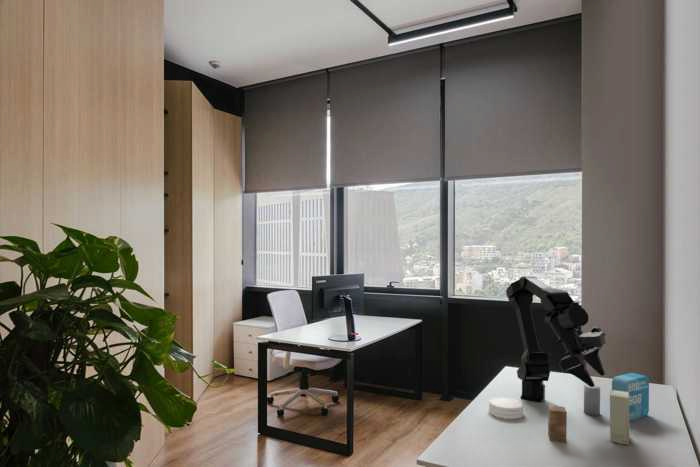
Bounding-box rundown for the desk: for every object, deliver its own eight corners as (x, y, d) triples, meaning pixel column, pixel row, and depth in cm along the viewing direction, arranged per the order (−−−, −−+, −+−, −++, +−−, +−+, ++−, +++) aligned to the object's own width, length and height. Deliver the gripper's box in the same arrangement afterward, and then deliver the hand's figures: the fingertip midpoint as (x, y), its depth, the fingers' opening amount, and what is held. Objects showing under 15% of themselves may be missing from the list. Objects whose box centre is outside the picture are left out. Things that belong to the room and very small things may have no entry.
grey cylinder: (583, 413, 142) (583, 387, 142) (584, 409, 146) (584, 383, 146) (599, 417, 140) (599, 390, 140) (600, 412, 143) (600, 386, 143)
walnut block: (549, 440, 122) (550, 410, 123) (548, 434, 126) (548, 405, 126) (566, 442, 121) (566, 412, 121) (564, 436, 125) (564, 406, 125)
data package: (626, 422, 136) (626, 381, 136) (611, 417, 140) (611, 377, 140) (649, 415, 142) (649, 375, 142) (634, 410, 146) (634, 371, 146)
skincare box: (628, 445, 120) (629, 398, 120) (609, 441, 122) (609, 395, 123) (629, 437, 125) (629, 391, 126) (610, 433, 128) (610, 388, 128)
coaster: (515, 407, 147) (515, 396, 147) (529, 420, 137) (529, 408, 137) (484, 408, 146) (484, 396, 146) (495, 420, 136) (496, 408, 136)
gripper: (578, 329, 126) (614, 383, 122) (600, 312, 139) (633, 360, 135) (544, 344, 133) (577, 396, 129) (568, 327, 147) (599, 373, 142)
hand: (598, 380), depth 133 cm, fingers open, 9 cm apart
